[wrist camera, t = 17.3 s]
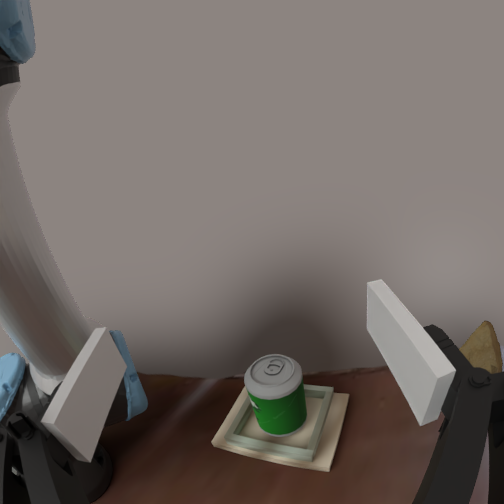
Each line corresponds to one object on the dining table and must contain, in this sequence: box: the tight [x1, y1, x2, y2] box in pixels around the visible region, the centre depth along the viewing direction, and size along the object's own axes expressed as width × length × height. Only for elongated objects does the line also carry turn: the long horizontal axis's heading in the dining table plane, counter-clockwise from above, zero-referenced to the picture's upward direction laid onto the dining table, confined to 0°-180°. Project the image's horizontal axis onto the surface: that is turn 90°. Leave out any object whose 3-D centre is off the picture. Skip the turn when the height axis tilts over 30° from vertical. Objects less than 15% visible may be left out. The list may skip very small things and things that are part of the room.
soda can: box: [244, 354, 307, 437], centre depth 38 cm, size 8×8×12 cm
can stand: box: [211, 384, 349, 472], centre depth 40 cm, size 18×14×4 cm
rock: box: [459, 321, 503, 374], centre depth 36 cm, size 11×9×10 cm
